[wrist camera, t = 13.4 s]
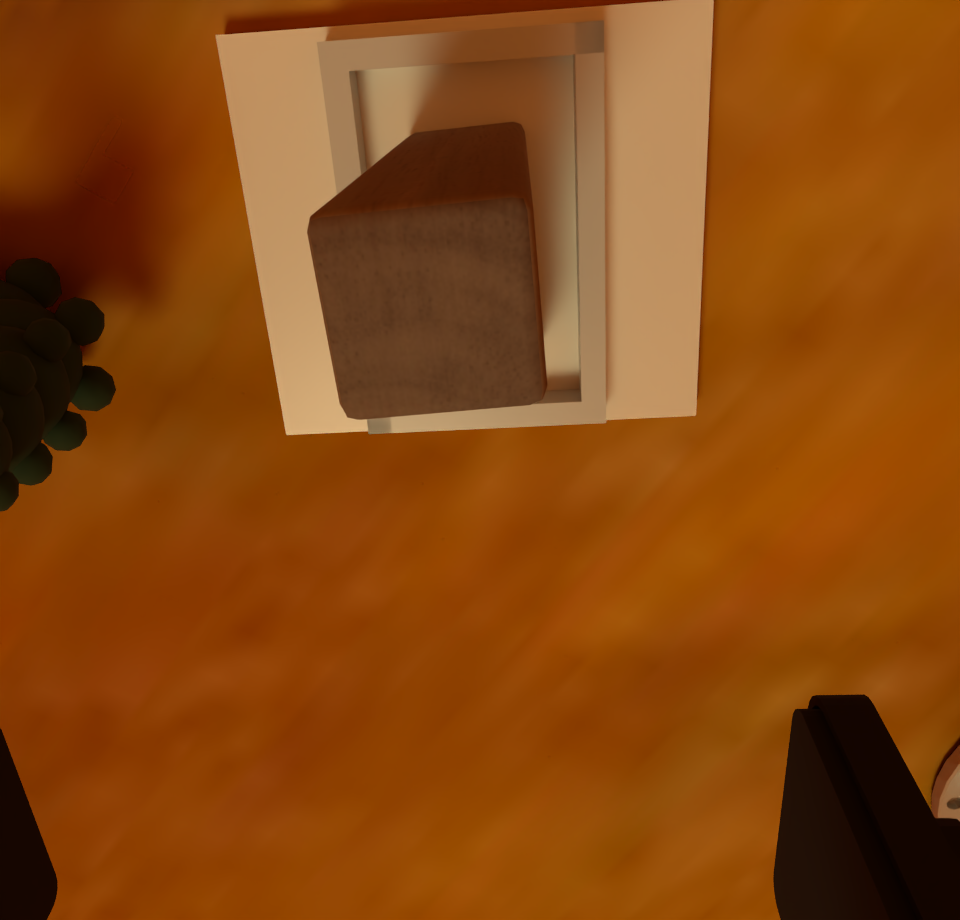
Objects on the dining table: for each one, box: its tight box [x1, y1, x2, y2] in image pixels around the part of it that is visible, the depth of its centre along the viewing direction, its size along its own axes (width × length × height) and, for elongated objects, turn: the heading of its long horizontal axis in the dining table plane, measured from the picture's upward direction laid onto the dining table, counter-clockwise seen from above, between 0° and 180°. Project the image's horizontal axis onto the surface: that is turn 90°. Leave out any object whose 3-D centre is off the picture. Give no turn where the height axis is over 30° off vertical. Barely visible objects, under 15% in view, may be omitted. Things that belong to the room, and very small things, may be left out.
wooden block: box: [307, 122, 547, 420], centre depth 26 cm, size 9×4×18 cm, turn 6°
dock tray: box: [216, 0, 714, 435], centre depth 34 cm, size 18×16×2 cm
